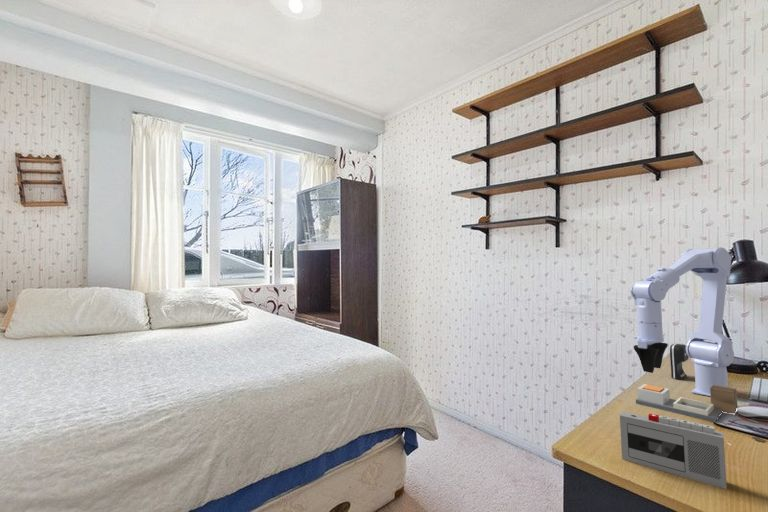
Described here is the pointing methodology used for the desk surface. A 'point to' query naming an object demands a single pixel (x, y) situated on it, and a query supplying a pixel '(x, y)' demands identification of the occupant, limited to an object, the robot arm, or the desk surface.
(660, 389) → the button
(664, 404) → the grey tray with holders
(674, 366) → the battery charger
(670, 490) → the desk surface
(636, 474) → the desk surface
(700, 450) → the cassette player
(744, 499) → the desk surface
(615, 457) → the desk surface
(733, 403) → the block
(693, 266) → the robot arm
